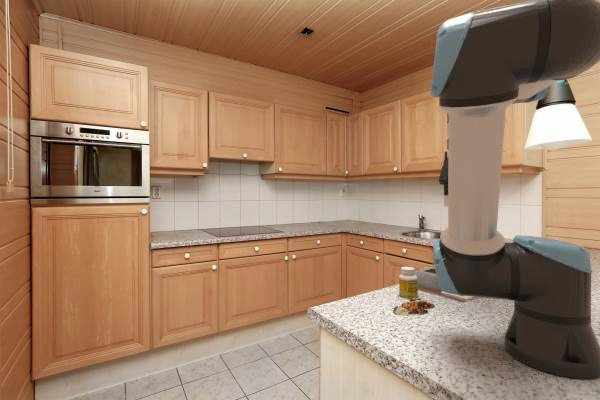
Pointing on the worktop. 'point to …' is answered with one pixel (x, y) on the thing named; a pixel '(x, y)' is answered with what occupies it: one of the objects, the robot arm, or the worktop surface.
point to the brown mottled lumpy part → (414, 307)
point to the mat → (458, 296)
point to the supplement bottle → (408, 283)
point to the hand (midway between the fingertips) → (461, 205)
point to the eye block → (427, 279)
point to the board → (440, 294)
